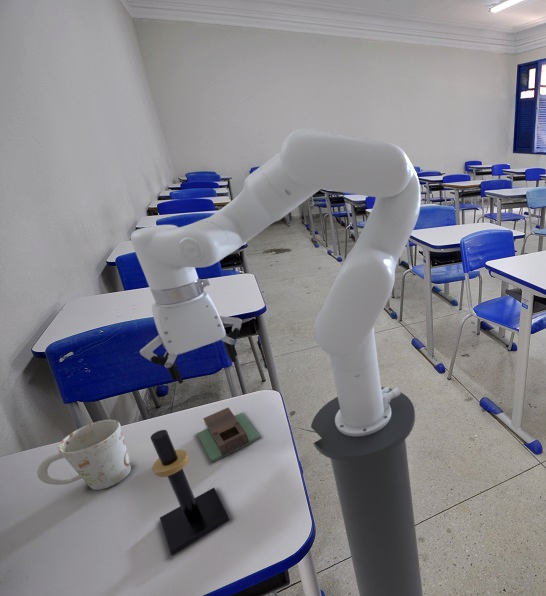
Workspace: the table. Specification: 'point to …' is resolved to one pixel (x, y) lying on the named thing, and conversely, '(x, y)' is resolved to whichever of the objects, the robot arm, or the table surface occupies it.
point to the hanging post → (184, 498)
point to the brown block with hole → (226, 431)
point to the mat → (211, 445)
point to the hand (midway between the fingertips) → (207, 370)
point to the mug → (92, 456)
